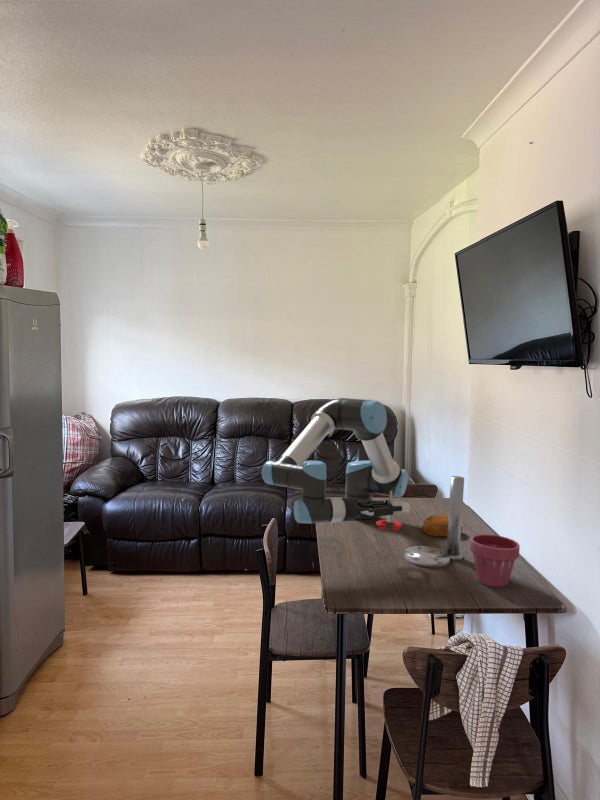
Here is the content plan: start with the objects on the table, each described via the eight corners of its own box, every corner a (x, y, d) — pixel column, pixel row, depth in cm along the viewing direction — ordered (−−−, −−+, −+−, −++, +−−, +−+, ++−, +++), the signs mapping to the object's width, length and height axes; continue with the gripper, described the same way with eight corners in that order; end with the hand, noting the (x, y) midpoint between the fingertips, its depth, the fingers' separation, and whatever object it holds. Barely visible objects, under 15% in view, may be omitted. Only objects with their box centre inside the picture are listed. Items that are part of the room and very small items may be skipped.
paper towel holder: (397, 553, 197) (401, 474, 195) (449, 549, 203) (453, 472, 201) (417, 569, 183) (422, 484, 180) (473, 564, 189) (478, 482, 186)
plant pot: (507, 573, 182) (510, 534, 181) (524, 591, 168) (527, 550, 167) (463, 571, 182) (465, 532, 181) (475, 589, 168) (478, 547, 167)
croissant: (464, 544, 216) (468, 524, 215) (425, 537, 215) (429, 517, 214) (452, 531, 230) (457, 512, 230) (415, 525, 230) (419, 506, 229)
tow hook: (376, 522, 195) (376, 529, 186) (378, 485, 194) (378, 490, 185) (401, 524, 194) (402, 531, 185) (403, 487, 193) (404, 492, 184)
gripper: (333, 514, 188) (398, 511, 195) (349, 527, 175) (417, 523, 181) (334, 492, 187) (399, 490, 194) (350, 504, 174) (419, 501, 181)
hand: (408, 506), depth 188 cm, fingers closed on tow hook
